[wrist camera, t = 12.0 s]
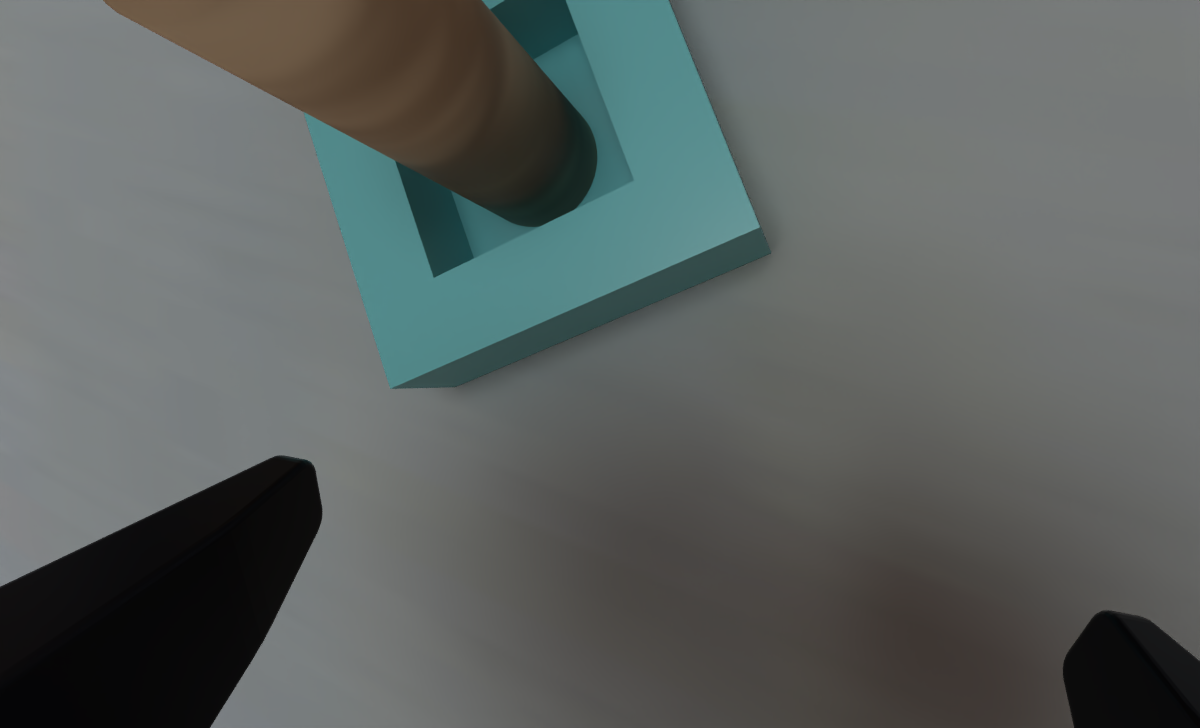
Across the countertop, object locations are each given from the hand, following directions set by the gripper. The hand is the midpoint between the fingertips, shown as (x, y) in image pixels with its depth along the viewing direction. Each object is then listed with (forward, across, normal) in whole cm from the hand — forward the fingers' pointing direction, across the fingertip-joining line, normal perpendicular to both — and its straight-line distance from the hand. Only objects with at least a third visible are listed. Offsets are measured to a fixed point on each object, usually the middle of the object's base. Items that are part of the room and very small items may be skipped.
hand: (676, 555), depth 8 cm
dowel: (+15, +6, 0) cm, 16 cm away
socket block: (+16, +5, 0) cm, 17 cm away
